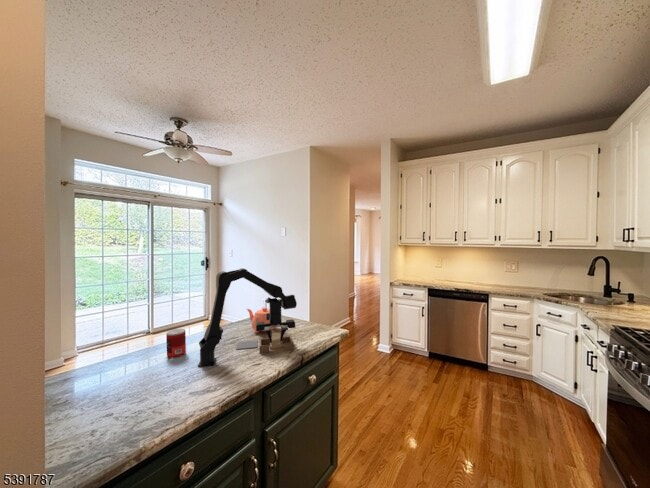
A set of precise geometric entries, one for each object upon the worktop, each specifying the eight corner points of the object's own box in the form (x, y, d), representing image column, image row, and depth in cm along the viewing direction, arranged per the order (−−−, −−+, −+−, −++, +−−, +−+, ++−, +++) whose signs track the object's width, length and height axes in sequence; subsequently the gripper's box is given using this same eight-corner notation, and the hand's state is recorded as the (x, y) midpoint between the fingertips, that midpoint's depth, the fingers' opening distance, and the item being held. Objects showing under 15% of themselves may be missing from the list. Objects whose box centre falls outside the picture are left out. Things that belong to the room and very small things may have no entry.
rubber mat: (257, 347, 135) (257, 346, 135) (236, 349, 132) (236, 349, 132) (257, 340, 144) (257, 339, 144) (237, 342, 142) (237, 341, 142)
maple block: (280, 344, 132) (280, 332, 132) (272, 345, 131) (271, 333, 131) (279, 342, 136) (279, 330, 136) (271, 342, 135) (271, 330, 135)
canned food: (189, 351, 131) (188, 328, 131) (178, 358, 123) (178, 334, 123) (174, 351, 132) (173, 328, 132) (163, 358, 124) (162, 334, 124)
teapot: (256, 337, 150) (256, 312, 150) (246, 329, 164) (245, 307, 164) (282, 331, 159) (282, 308, 159) (271, 324, 173) (270, 303, 173)
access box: (293, 349, 131) (293, 342, 131) (259, 353, 127) (259, 346, 127) (291, 342, 140) (291, 335, 140) (259, 345, 137) (259, 339, 137)
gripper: (292, 305, 144) (293, 335, 144) (256, 308, 139) (256, 338, 139) (295, 310, 133) (295, 342, 133) (255, 313, 128) (256, 346, 129)
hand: (276, 342), depth 134 cm, fingers open, 4 cm apart
